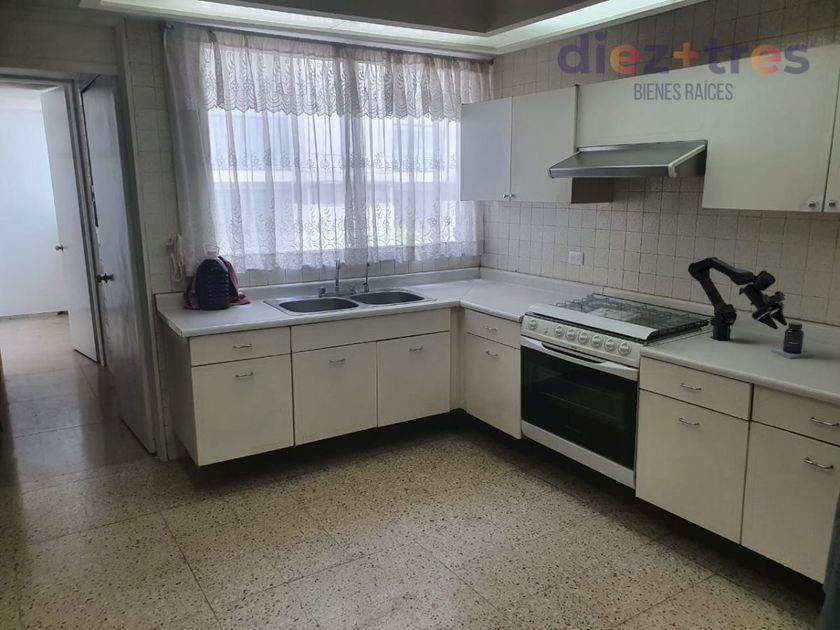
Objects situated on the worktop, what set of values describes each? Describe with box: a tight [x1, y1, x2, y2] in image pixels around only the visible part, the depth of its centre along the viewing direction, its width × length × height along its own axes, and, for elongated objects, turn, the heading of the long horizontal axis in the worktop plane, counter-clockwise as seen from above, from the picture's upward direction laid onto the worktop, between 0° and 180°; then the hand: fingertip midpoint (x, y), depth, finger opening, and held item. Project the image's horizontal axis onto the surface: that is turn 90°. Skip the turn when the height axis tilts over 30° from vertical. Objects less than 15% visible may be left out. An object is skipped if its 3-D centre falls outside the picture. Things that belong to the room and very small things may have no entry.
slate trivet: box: [770, 348, 816, 360], centre depth 253 cm, size 11×11×1 cm
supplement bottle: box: [782, 321, 805, 354], centre depth 252 cm, size 7×7×12 cm
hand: (781, 327), depth 255 cm, fingers open, 9 cm apart
